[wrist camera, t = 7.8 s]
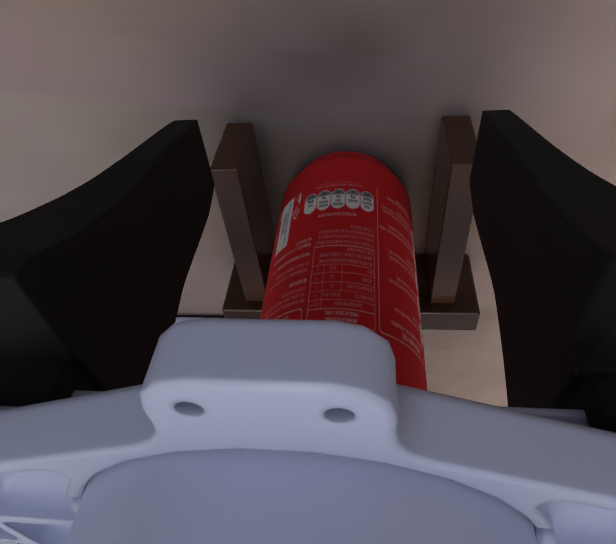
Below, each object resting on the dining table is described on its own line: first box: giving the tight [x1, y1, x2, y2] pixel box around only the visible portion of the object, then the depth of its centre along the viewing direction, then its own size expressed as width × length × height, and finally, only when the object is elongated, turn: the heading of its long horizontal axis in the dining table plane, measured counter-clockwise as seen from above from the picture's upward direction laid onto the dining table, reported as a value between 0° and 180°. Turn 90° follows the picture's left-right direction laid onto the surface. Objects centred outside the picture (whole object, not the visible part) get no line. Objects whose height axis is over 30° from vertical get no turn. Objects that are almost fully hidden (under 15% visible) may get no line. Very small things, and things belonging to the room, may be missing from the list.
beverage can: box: [260, 150, 427, 391], centre depth 16 cm, size 5×5×12 cm
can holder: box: [210, 116, 480, 330], centre depth 20 cm, size 8×11×4 cm
